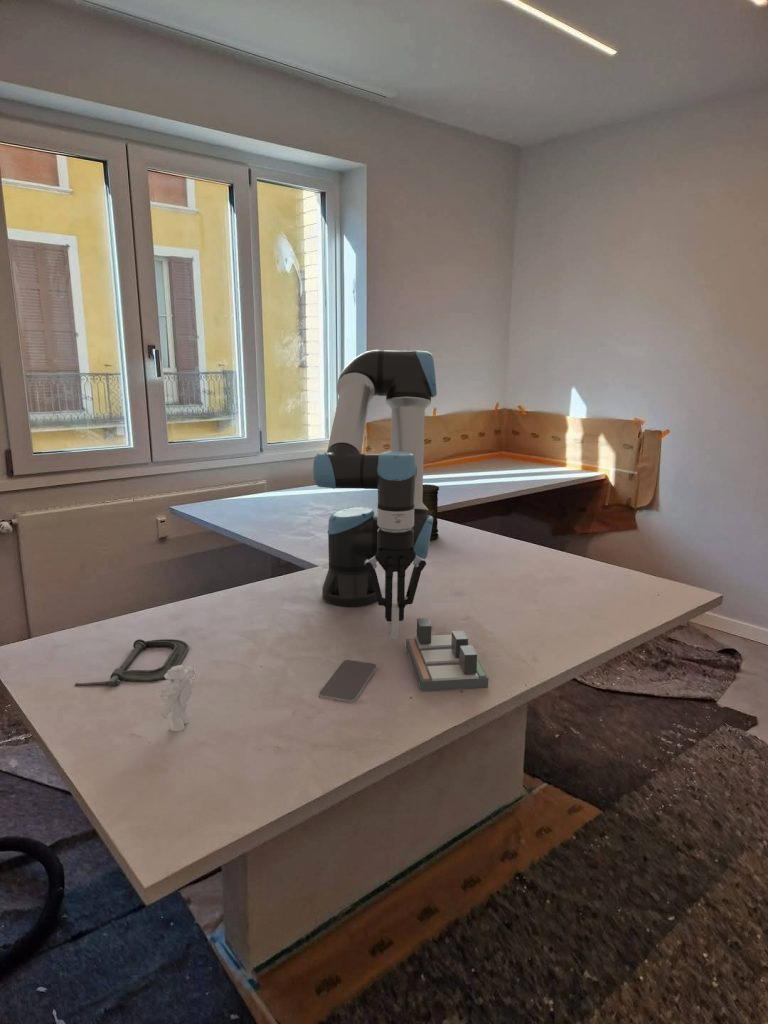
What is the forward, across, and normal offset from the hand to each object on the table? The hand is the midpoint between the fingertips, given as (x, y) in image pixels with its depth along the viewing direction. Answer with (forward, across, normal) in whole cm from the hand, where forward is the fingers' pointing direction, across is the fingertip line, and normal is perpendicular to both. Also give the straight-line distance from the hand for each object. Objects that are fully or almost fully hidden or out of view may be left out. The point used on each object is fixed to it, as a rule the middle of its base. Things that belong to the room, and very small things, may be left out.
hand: (394, 634), depth 139 cm
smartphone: (+5, -10, -11) cm, 16 cm away
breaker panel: (+4, +10, -7) cm, 13 cm away
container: (+4, +24, +87) cm, 90 cm away
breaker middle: (+2, +12, -7) cm, 14 cm away
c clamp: (+5, -52, +1) cm, 53 cm away
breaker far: (+1, +6, 0) cm, 7 cm away
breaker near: (+2, +12, -14) cm, 19 cm away
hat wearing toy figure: (+5, -40, -23) cm, 47 cm away
